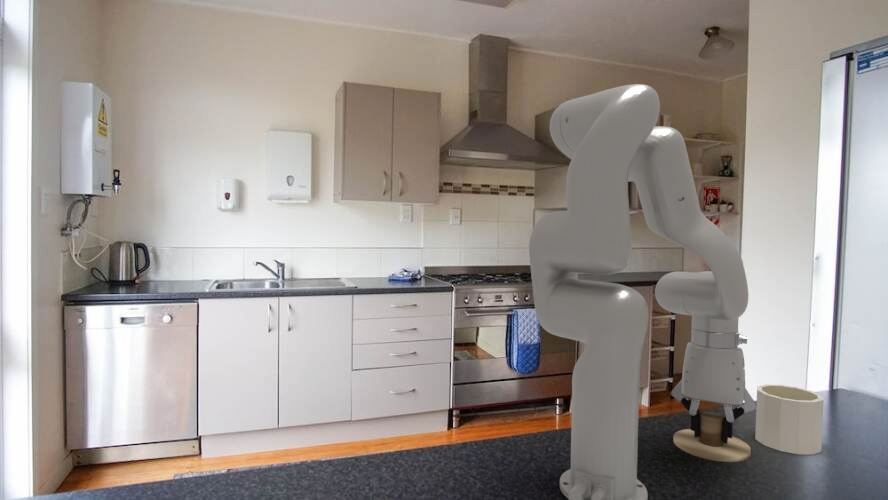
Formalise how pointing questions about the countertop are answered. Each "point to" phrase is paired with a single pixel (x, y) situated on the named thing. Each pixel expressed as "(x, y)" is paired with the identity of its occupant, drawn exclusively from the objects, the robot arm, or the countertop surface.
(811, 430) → the pot
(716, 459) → the lid
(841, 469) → the countertop surface
